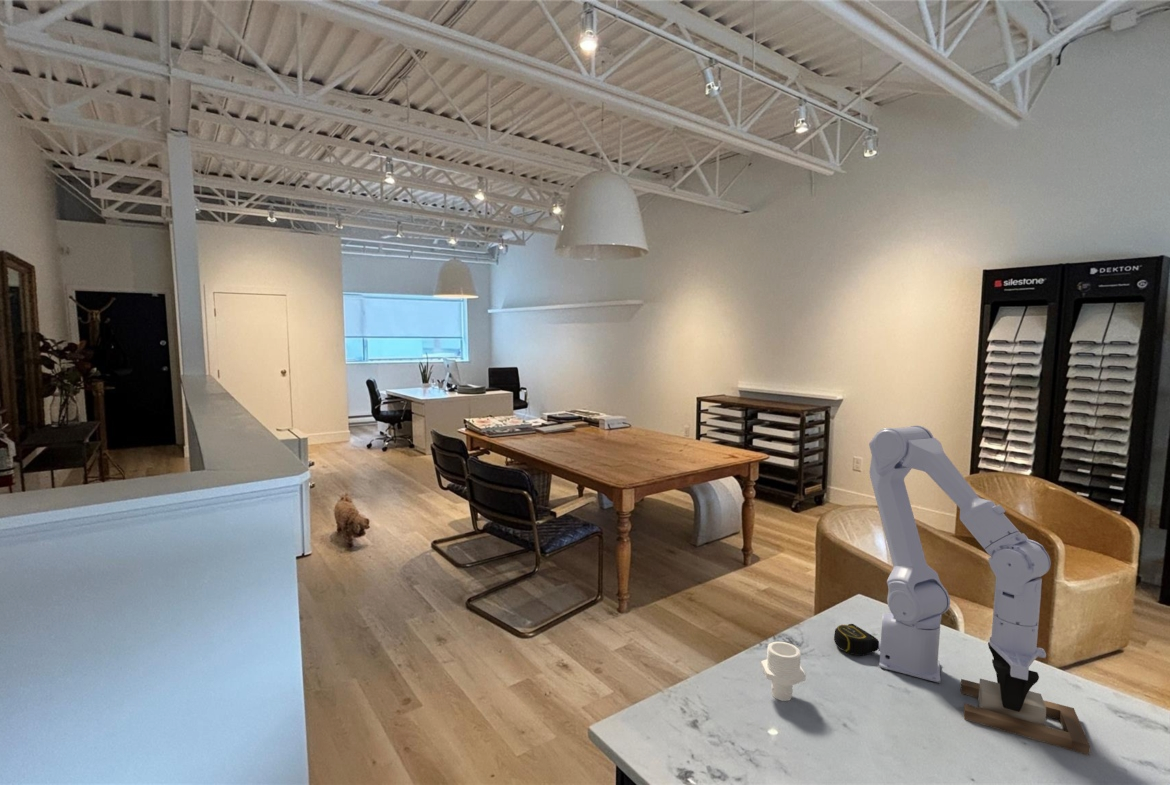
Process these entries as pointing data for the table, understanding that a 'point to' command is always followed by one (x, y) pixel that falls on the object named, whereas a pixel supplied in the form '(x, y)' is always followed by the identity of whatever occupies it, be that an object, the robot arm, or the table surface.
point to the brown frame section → (1031, 723)
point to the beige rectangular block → (992, 701)
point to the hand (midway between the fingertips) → (1008, 700)
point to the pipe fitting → (783, 669)
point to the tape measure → (855, 640)
